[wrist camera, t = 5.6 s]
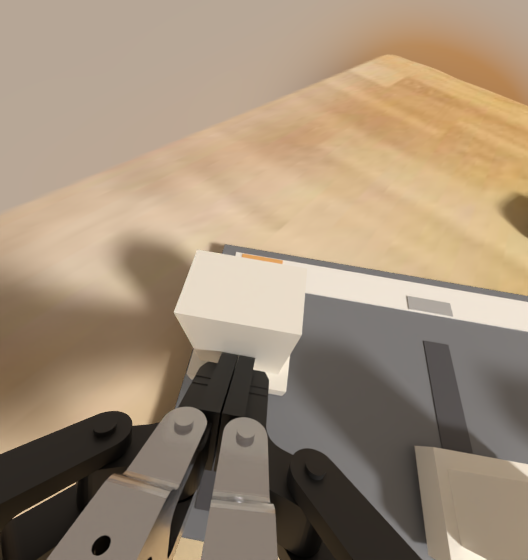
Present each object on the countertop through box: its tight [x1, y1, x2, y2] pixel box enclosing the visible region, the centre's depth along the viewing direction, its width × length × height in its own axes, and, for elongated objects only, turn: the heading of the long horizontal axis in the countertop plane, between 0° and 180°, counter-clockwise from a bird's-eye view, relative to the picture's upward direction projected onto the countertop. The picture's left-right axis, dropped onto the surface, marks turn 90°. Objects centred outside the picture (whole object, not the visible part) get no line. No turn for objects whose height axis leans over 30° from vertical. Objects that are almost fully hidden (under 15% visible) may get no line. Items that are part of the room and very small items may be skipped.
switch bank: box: [175, 244, 528, 560], centre depth 16 cm, size 30×16×2 cm, turn 81°
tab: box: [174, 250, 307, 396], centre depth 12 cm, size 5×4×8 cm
